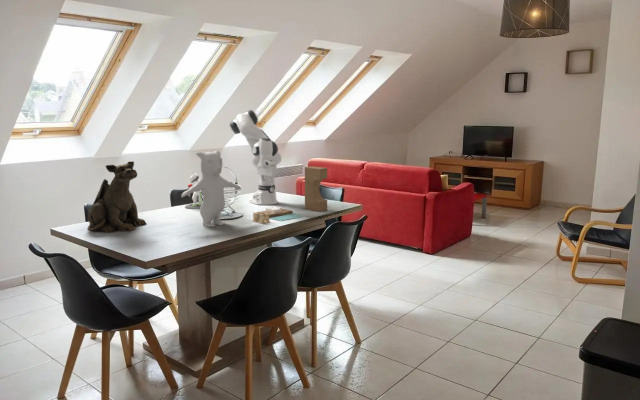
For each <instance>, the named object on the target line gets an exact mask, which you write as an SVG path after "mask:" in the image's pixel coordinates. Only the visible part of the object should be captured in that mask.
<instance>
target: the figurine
mask: <svg viewBox="0 0 640 400" xmlns="http://www.w3.org/2000/svg"><path fill="white" fill-rule="evenodd" d="M199 179H200V178H199V174H198V173H194V172H192V175H191V176H190V177H189V180H190V183H188V184H187V190H188V189H189V188H190V187H192V186H194V184H195V183H196V182H197V181H198V180H199ZM192 194H193V195H192V197H191V200H192V201H193V203H188V204H186V205H185V206H184V208H185V209H187V210H200V207H201V204H202V202H203V195H202V192H201V191H196V192H193V193H192Z"/></svg>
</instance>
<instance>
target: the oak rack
mask: <svg viewBox="0 0 640 400" xmlns="http://www.w3.org/2000/svg"><path fill="white" fill-rule="evenodd" d="M257 212H258V213H255V212H252V218H253V219H252V222H253V223H258V224H260V225H262V224H263V225H264V224H268V223H271V221H270V219H269V214H267V213H263V212H261V211H257Z"/></svg>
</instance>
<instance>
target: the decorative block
mask: <svg viewBox="0 0 640 400" xmlns="http://www.w3.org/2000/svg"><path fill="white" fill-rule="evenodd" d="M325 179H328V167H322V166H320V167H319V166H313V165H312V166H305V167H304V209H305V210H309V211H313V212H314V211H315V212H320V213H321V212H325V211H327V210H328V200H327V199H325V198H324V197H323V196H322V195H321V190H320V187H321V185H320V184H321V183H322V181H324V180H325Z"/></svg>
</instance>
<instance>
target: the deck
mask: <svg viewBox="0 0 640 400" xmlns="http://www.w3.org/2000/svg"><path fill="white" fill-rule="evenodd" d="M279 209H281V212H277V213H272V212H267V211H266V210H262V211H260V212H263V213H267V214H269V218H271V217H277V216H282V215H287V214H294V211H293V210H290V209H287V208H279ZM258 212H259V211H256V212H255V213H258Z"/></svg>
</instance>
